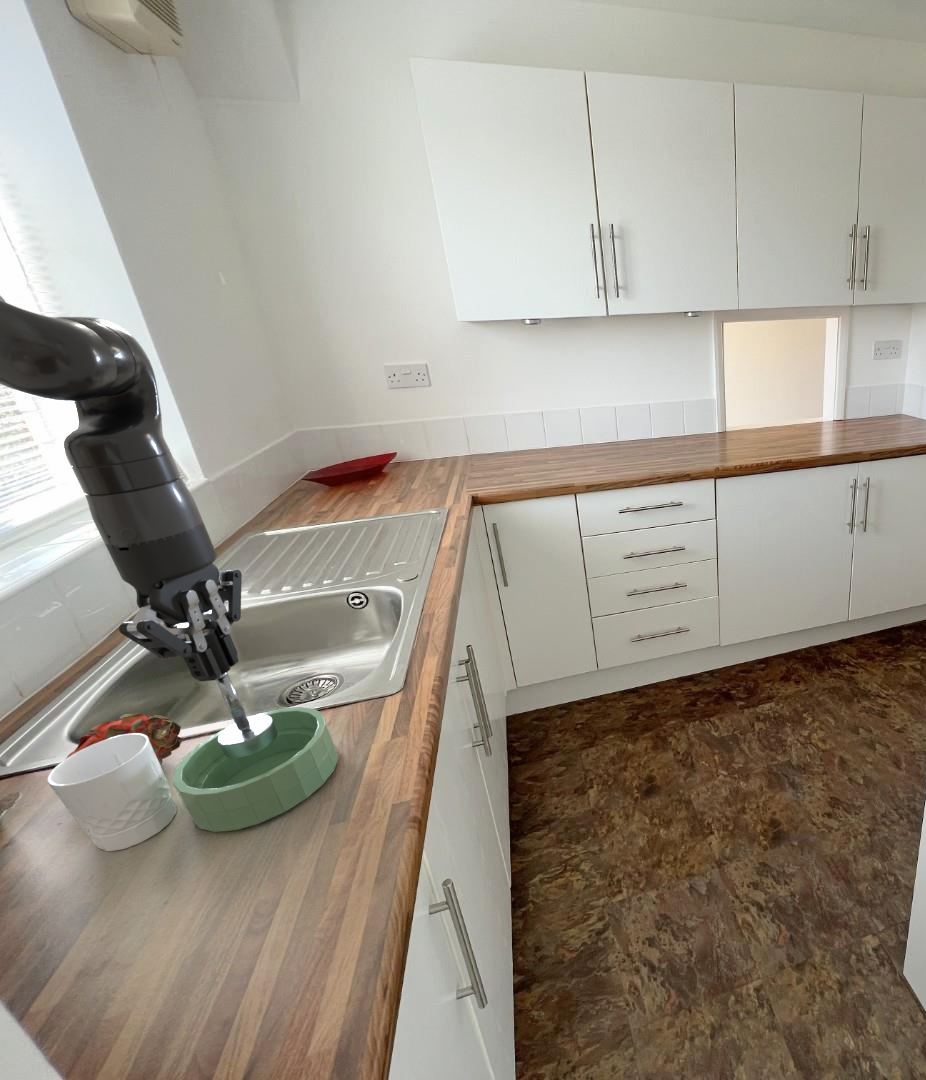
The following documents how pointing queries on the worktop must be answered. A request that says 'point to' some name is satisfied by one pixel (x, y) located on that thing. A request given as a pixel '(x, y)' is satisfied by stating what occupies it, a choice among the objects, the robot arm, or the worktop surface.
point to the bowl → (257, 773)
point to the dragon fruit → (153, 727)
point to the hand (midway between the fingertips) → (218, 671)
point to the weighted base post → (238, 712)
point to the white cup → (115, 791)
